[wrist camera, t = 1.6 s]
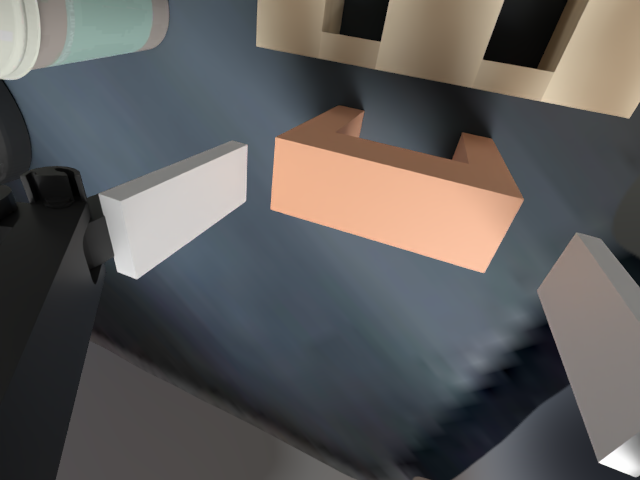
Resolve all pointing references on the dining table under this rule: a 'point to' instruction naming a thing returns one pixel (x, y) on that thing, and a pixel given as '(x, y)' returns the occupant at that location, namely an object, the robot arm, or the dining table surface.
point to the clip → (396, 189)
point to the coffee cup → (75, 31)
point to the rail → (476, 47)
